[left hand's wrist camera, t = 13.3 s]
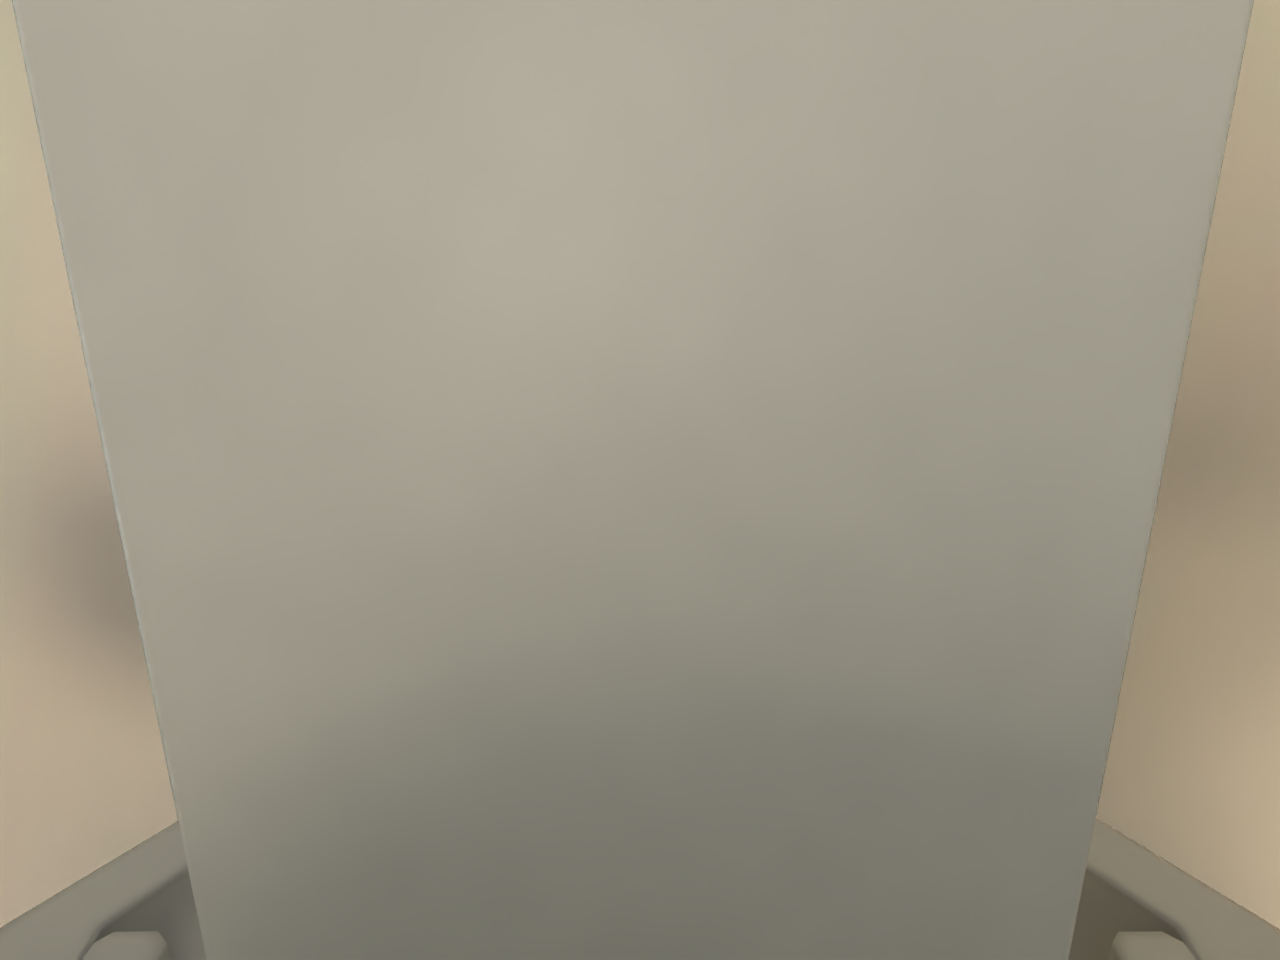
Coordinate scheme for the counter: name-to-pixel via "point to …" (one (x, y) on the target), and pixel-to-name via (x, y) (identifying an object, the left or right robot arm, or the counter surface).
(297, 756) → the bar
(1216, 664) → the counter surface
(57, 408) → the counter surface
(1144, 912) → the left robot arm
